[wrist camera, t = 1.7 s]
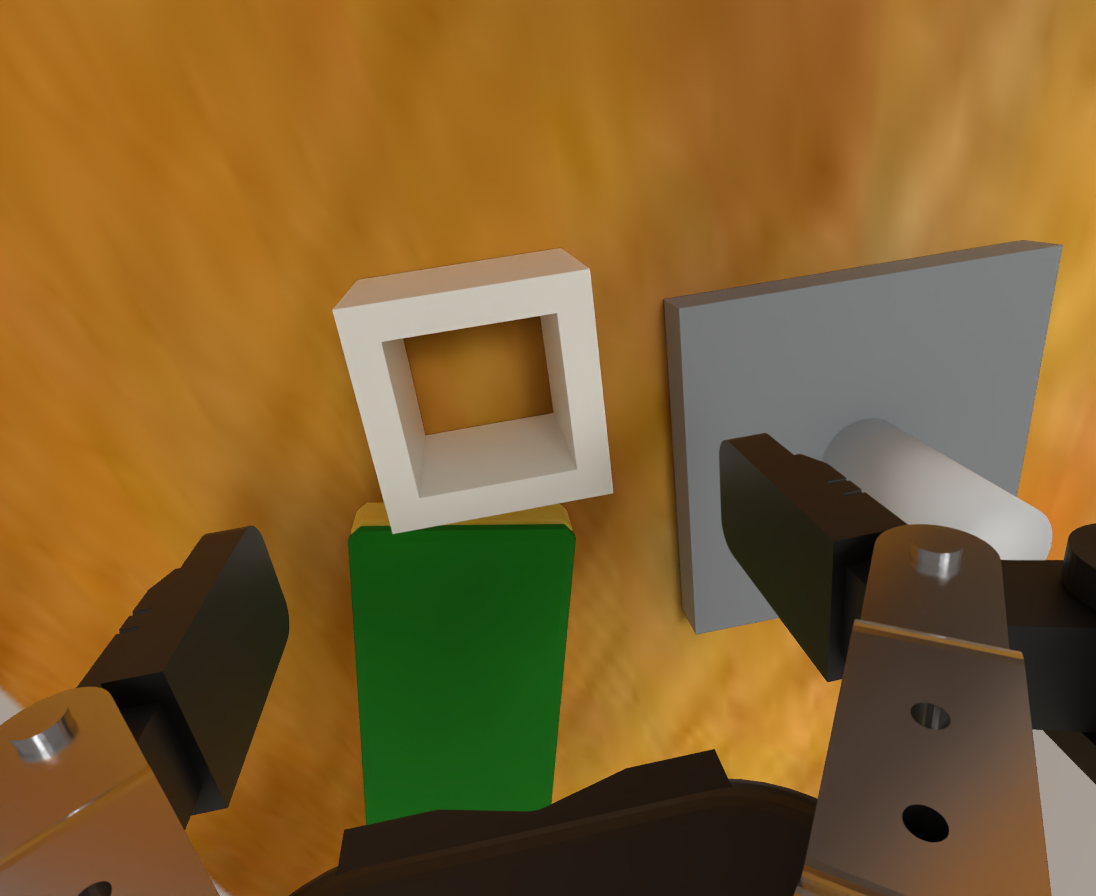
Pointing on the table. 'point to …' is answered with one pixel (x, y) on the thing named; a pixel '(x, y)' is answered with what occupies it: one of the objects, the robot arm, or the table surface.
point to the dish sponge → (460, 659)
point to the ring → (489, 450)
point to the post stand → (864, 398)
